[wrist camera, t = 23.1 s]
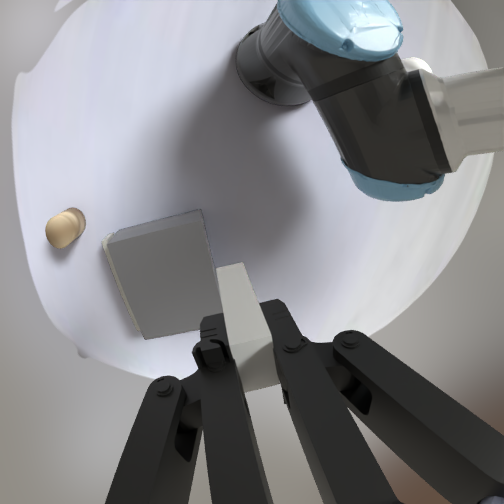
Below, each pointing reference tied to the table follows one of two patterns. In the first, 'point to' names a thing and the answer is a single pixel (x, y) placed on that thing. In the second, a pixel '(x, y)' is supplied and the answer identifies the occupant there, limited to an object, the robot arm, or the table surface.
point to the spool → (65, 227)
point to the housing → (167, 274)
